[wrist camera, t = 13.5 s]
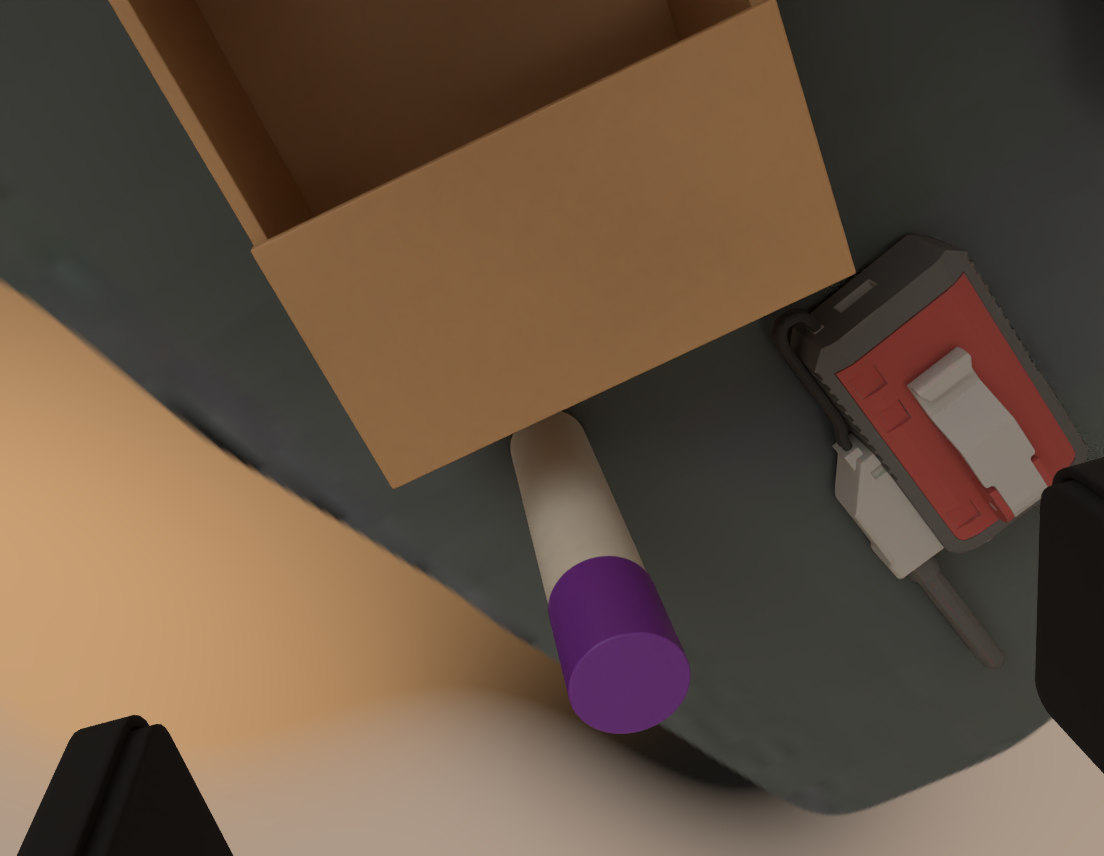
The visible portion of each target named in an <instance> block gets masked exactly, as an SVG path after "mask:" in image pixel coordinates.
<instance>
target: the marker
mask: <svg viewBox="0 0 1104 856" xmlns="http://www.w3.org/2000/svg"><path fill="white" fill-rule="evenodd" d="M510 450H511V456H512V460H513V464H514V468H515V472H516V476H517V480H518V484H519V488H520V492H521V496H522V501H523V505H524V509H525V513H526V517H527V521H528V525H529V529H530V533H531V537H532V541H533V545H534V549H535V553H536V557H537V561H538V565H539V570H540V574H541V578H542V582H543V586H544V590H545V594H546V598H547V602H548V612H549V618H550V622H551V626H552V630H553V634H554V638H555V643H556V647H557V651H558V655H559V659H560V663H561V667H562V671H563V675H564V680H565V683H566V688H567V692H568V696H569V700H570V703H571V706H572V708H573V710H574V711H575V713H576V714H577V715H578V716H579V718H580V719H581V720H583V721H584V722H585V723H586V724H588V725H590V726H591V727H593V728H595V729H598V730H600V731H604V732H608V733H616V734H624V733H633V732H639V731H642V730H645V729H648V728H651V727H653V726H655V725H657V724H659V723H660V722H662V721H663V720H665V719H666V718H668V717H669V716H670V715H671V714H672V713H673V712H674V711H675V710H676V709H677V708H678V707H679V706H680V704H681V703H682V701H683V700H684V698H685V696H686V694H687V691H688V688H689V685H690V677H691V674H690V666H689V662H688V659H687V657H686V655H685V653H684V650H683V648H682V646H681V644H680V641H679V639H678V637H677V635H676V632H675V630H674V628H673V626H672V623H671V621H670V619H669V617H668V614H667V612H666V610H665V608H664V605H663V603H662V601H661V599H660V597H659V594H658V592H657V590H656V588H655V585H654V583H653V581H652V579H651V577H650V576H649V574H648V573H647V572H646V570H645V567H644V565H643V563H642V561H641V558H640V556H639V554H638V552H637V549H636V547H635V545H634V542H633V540H632V538H631V536H630V533H629V531H628V529H627V527H626V524H625V522H624V520H623V518H622V515H621V513H620V511H619V509H618V506H617V504H616V502H615V500H614V497H613V495H612V493H611V491H610V488H609V486H608V484H607V482H606V479H605V477H604V475H603V472H602V470H601V468H600V466H599V463H598V461H597V459H596V457H595V454H594V452H593V450H592V448H591V445H590V443H589V441H588V439H587V436H586V434H585V432H584V430H583V428H582V426H581V425H580V423H579V422H578V421H577V420H576V419H575V418H574V417H572V416H571V415H569V414H567V413H564V412H561V411H560V412H558V413H556V414H554V415H552V416H550V417H547V418H545V419H543V420H541V421H539V422H537V423H535V424H532V425H530V426H528V427H526V428H524V429H522V430H520V431H517V432H515V433H513V436H512V439H511V444H510Z"/></svg>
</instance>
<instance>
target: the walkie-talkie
mask: <svg viewBox="0 0 1104 856" xmlns="http://www.w3.org/2000/svg"><path fill="white" fill-rule="evenodd" d="M967 253H968V252H967V251H965V250H962V249H960V248H957V247H955V246H952V245H950V244H947V243H945V242H942V241H940V240H937V239H934V238H932V237H926V236H917V235H907V236H905V237H904V238H903V239H902V240H900V241H899V242H898V243H897V244H895V245H894V246H893V247H892V248H890V249H889V250H888V251H887V252H886V253H884V254H883V255H882V256H881V257H879V258H878V259H877V260H876V261H874V262H873V263H872V264H871V265H869V266H868V267H867V268H866V269H864V270H863V271H862V272H861V273H859V274H858V275H857V276H856V277H854V278H853V279H852V280H851V281H850V282H848V283H847V284H846V285H845V286H843V287H842V288H841V289H840V290H838V291H837V292H836V293H835V294H833V295H832V296H831V297H830V298H828V299H827V300H826V301H825V302H823V303H822V304H821V305H820V306H818V307H817V308H816V309H815V310H814V311H812V312H811V313H810V314H809V313H807V312H805V311H804V310H802V309H791V310H789V311H787V312H785V313H783V314H781V315H779V316H778V317H777V319H776V320H775V321H774V324H773V328H772V336H773V339H774V342H775V345H776V348H777V349H778V350H779V352H780V353H781V354H782V356H783V357H784V358H785V360H786V361H787V362H788V363H789V365H790V366H791V367H792V369H793V370H794V371H795V373H796V374H797V375H798V377H799V378H800V379H801V380H802V382H803V383H804V384H805V386H806V387H807V388H808V390H809V391H810V392H811V394H812V395H813V396H814V397H815V399H816V400H817V401H818V403H819V404H820V406H821V407H822V408H823V410H824V411H825V413H826V414H827V415H828V417H829V418H830V420H831V421H832V423H833V427H834V437H835V439H836V443H835V444H834V445H832V446H833V448H834V449H835V450H836V451H837V453H838V459H837V471H836V482H835V495H836V498H837V499H838V501H839V502H840V503H841V504H842V506H843V507H844V508H845V509H846V511H847V512H848V513H849V515H850V516H851V517H852V518H853V520H854V521H855V522H856V523H857V525H858V526H859V527H860V529H861V530H862V531H863V532H864V534H865V535H866V536H867V538H868V539H869V540H870V541H871V548H872V550H873V551H874V552H875V553H876V554H877V556H878V557H879V558H880V559H881V560H882V561H883V562H884V564H885V565H886V566H887V567H888V568H889V569H890V570H891V571H892V573H893V574H894V575H895V576H896V577H897V578H898V579H902V578H904V577H905V576H907V575H908V576H909V578H910V579H911V580H912V581H914V582H916V583H919V585H920V586H921V587H922V588H923V590H924V591H925V592H926V593H927V595H928V596H929V597H930V599H931V600H932V601H933V602H934V604H935V605H936V606H937V607H938V609H939V610H940V611H941V613H942V614H943V615H944V616H945V618H946V619H947V620H948V621H949V623H950V624H951V625H952V627H953V628H954V629H955V630H956V632H957V633H958V634H959V635H960V637H961V638H962V639H963V641H964V642H965V643H966V644H967V646H968V647H969V648H970V649H971V651H972V652H973V653H974V654H975V656H976V657H977V658H978V660H979V661H980V662H981V663H982V665H983V666H985V667H987V668H991V669H996V668H998V667H1000V666H1001V665H1002V664H1003V662H1004V653H1003V652H1002V650H1001V649H1000V648H999V647H998V645H997V644H996V643H995V641H994V640H993V639H992V638H991V636H990V635H989V634H988V632H987V631H986V630H985V628H984V627H983V626H982V625H981V623H980V622H979V621H978V619H977V618H976V617H975V616H974V614H973V613H972V612H971V610H970V609H969V608H968V606H967V605H966V604H965V603H964V601H963V600H962V599H961V597H960V596H959V595H958V594H957V592H956V591H955V590H954V588H953V587H952V586H951V585H950V583H949V582H948V581H947V579H946V578H945V577H944V575H943V574H942V573H941V572H940V570H939V569H940V568H939V562H938V561H937V560H936V558H935V557H934V555H935V554H937V553H938V552H939V551H941V550H942V549H943V548H944V547H945V548H946V549H947V550H948V551H949V552H953V553H959V554H961V553H964V552H967V551H970V550H973V549H976V548H978V547H980V546H981V545H983V544H984V543H986V542H987V541H989V540H991V539H992V538H993V537H994V536H995V535H996V534H998V533H999V532H1001V531H1002V530H1003V529H1005V528H1006V527H1007V526H1009V525H1010V524H1012V523H1013V522H1014V521H1016V520H1017V519H1018V518H1020V517H1021V516H1022V515H1024V514H1025V513H1027V512H1028V511H1029V510H1031V509H1032V508H1033V507H1035V506H1039V505H1040V501H1041V494H1042V492H1043V491H1044V489H1045V488H1047V487H1049V486H1052V481H1053V478H1054V476H1055V474H1056V472H1057V471H1059V470H1061V469H1062V468H1066V467H1069V466H1073V465H1077V464H1081V463H1084V462H1086V459H1087V453H1088V449H1087V447H1086V445H1085V444H1084V442H1083V440H1082V439H1081V437H1080V436H1079V434H1078V432H1077V431H1076V429H1075V427H1074V426H1073V424H1072V422H1071V421H1070V419H1069V418H1068V416H1067V414H1066V413H1065V411H1064V409H1063V408H1062V406H1061V404H1060V403H1059V401H1058V400H1057V398H1056V396H1055V395H1054V393H1053V391H1052V390H1051V388H1050V386H1049V385H1048V383H1047V382H1046V380H1045V378H1044V377H1043V375H1042V373H1041V372H1040V371H1039V370H1037V369H1036V368H1035V362H1034V361H1033V360H1031V359H1030V358H1029V357H1028V355H1029V352H1028V351H1027V350H1025V349H1024V348H1023V347H1022V343H1023V342H1022V341H1021V340H1020V339H1018V338H1017V337H1016V336H1015V334H1016V331H1015V329H1013V328H1011V327H1010V326H1009V320H1008V318H1006V317H1004V316H1003V314H1002V311H1003V310H1002V308H1001V307H1000V306H998V305H996V303H995V300H996V298H995V297H994V296H993V295H991V294H990V293H989V291H988V289H989V287H988V285H987V284H985V283H983V282H982V280H981V277H982V275H981V274H980V273H979V272H977V271H976V270H975V269H974V265H975V264H974V262H973V261H971V260H969V259H968V257H967ZM798 322H799V323H798ZM796 323H797V324H796ZM794 324H796V325H795V326H794V327H793V329H792V335H791V340H790V345H789V343H788V340H787V330H788V329H789V327H790V326H792V325H794ZM848 430H850V431H851V432H852V433H853V434H854V435H853V434H852V433H851V434H849V435H848Z"/></svg>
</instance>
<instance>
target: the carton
mask: <svg viewBox="0 0 1104 856" xmlns="http://www.w3.org/2000/svg"><path fill="white" fill-rule="evenodd" d="M108 1H109V2H110V4H111V6H112V7H113V9H114V11H115V12H116V14H117V16H118V17H119V19H120V21H121V23H122V24H123V26H124V28H125V29H126V31H127V33H128V34H129V36H130V38H131V39H132V41H133V43H134V44H135V46H136V48H137V49H138V51H139V53H140V55H141V56H142V58H143V60H144V61H145V63H146V65H147V66H148V68H149V70H150V71H151V73H152V75H153V76H154V78H155V80H156V81H157V83H158V85H159V87H160V88H161V90H162V92H163V93H164V95H165V97H166V98H167V100H168V102H169V103H170V105H171V107H172V108H173V110H174V112H175V113H176V115H177V117H178V118H179V120H180V122H181V124H182V125H183V127H184V129H185V130H186V132H187V134H188V135H189V137H190V139H191V140H192V142H193V144H194V145H195V147H196V149H197V150H198V152H199V154H200V156H201V157H202V159H203V161H204V162H205V164H206V166H207V167H208V169H209V171H210V172H211V174H212V176H213V177H214V179H215V181H216V182H217V184H218V186H219V187H220V189H221V191H222V193H223V194H224V196H225V198H226V199H227V201H228V203H229V204H230V206H231V208H232V209H233V211H234V213H235V214H236V216H237V218H238V219H239V221H240V223H241V225H242V226H243V228H244V230H245V231H246V233H247V235H248V236H249V238H250V240H251V241H252V243H253V245H254V246H253V248H252V249H251V253H252V255H253V256H254V258H255V260H256V261H257V263H258V265H259V266H260V268H261V270H262V271H263V273H264V275H265V276H266V278H267V280H268V281H269V283H270V285H271V286H272V288H273V290H274V291H275V293H276V295H277V296H278V298H279V300H280V301H281V303H282V305H283V306H284V308H285V310H286V312H287V313H288V315H289V317H290V318H291V320H292V322H293V323H294V325H295V327H296V328H297V330H298V332H299V333H300V335H301V337H302V338H303V340H304V342H305V343H306V345H307V347H308V348H309V350H310V352H311V353H312V355H313V357H314V358H315V360H316V362H317V363H318V365H319V367H320V368H321V370H322V372H323V373H324V375H325V377H326V378H327V380H328V382H329V383H330V385H331V387H332V388H333V390H334V392H335V394H336V395H337V397H338V399H339V400H340V402H341V404H342V405H343V407H344V409H345V410H346V412H347V414H348V415H349V417H350V419H351V420H352V422H353V424H354V425H355V427H356V429H357V430H358V432H359V434H360V435H361V437H362V439H363V440H364V442H365V444H366V445H367V447H368V449H369V450H370V452H371V454H372V455H373V457H374V459H375V460H376V462H377V464H378V465H379V467H380V469H381V470H382V472H383V474H384V475H385V477H386V479H387V481H388V482H389V484H390V486H391V487H392V489H395V488H398V487H400V486H402V485H404V484H406V483H408V482H410V481H413V480H415V479H417V478H419V477H421V476H423V475H425V474H427V473H430V472H432V471H434V470H436V469H438V468H440V467H442V466H445V465H447V464H449V463H451V462H453V461H455V460H457V459H460V458H462V457H464V456H466V455H468V454H470V453H472V452H475V451H477V450H479V449H481V448H483V447H485V446H487V445H490V444H492V443H494V442H496V441H498V440H500V439H502V438H505V437H507V436H509V435H511V434H513V433H515V432H517V431H520V430H522V429H524V428H526V427H528V426H530V425H532V424H535V423H537V422H539V421H541V420H543V419H545V418H547V417H550V416H552V415H554V414H556V413H558V412H560V411H562V410H565V409H567V408H569V407H571V406H573V405H575V404H577V403H580V402H582V401H584V400H586V399H588V398H590V397H592V396H595V395H597V394H599V393H601V392H603V391H605V390H607V389H610V388H612V387H614V386H616V385H618V384H620V383H622V382H625V381H627V380H629V379H631V378H633V377H635V376H637V375H640V374H642V373H644V372H646V371H648V370H650V369H652V368H655V367H657V366H659V365H661V364H663V363H665V362H667V361H669V360H672V359H674V358H676V357H678V356H680V355H682V354H684V353H687V352H689V351H691V350H693V349H695V348H697V347H699V346H702V345H704V344H706V343H708V342H710V341H712V340H714V339H717V338H719V337H721V336H723V335H725V334H727V333H729V332H732V331H734V330H736V329H738V328H740V327H742V326H744V325H747V324H749V323H751V322H753V321H755V320H757V319H759V318H762V317H764V316H766V315H768V314H770V313H772V312H774V311H777V310H779V309H781V308H783V307H785V306H787V305H789V304H792V303H794V302H796V301H798V300H800V299H802V298H804V297H807V296H809V295H811V294H813V293H815V292H817V291H819V290H822V289H824V288H826V287H828V286H830V285H832V284H834V283H837V282H839V281H841V280H843V279H845V278H847V277H849V276H852V275H854V274H855V273H856V270H855V267H854V263H853V260H852V257H851V253H850V250H849V246H848V243H847V240H846V236H845V233H844V229H843V226H842V223H841V219H840V216H839V212H838V209H837V206H836V202H835V199H834V195H833V192H832V189H831V185H830V182H829V178H828V175H827V172H826V168H825V165H824V161H823V158H822V155H821V151H820V148H819V144H818V141H817V138H816V134H815V131H814V127H813V124H812V121H811V117H810V114H809V110H808V107H807V104H806V100H805V97H804V93H803V90H802V87H801V83H800V80H799V76H798V73H797V70H796V66H795V63H794V59H793V56H792V53H791V49H790V46H789V42H788V39H787V36H786V32H785V29H784V25H783V22H782V19H781V15H780V12H779V8H778V5H777V2H776V0H108Z"/></svg>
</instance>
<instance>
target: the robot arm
mask: <svg viewBox="0 0 1104 856" xmlns="http://www.w3.org/2000/svg"><path fill="white" fill-rule="evenodd" d="M1035 681H1036V688H1037V692H1038V695H1039V697H1040V700H1041V702H1042V704H1043V706H1044V707H1045V709H1046V711H1047V712H1048V713H1049V714H1050V716H1051V717H1052V718H1053V719H1054V720H1055V721H1056V722H1057V723H1058V725H1059V726H1060V727H1061V728H1062V729H1063V730H1064V731H1065V732H1066V733H1067V734H1068V735H1069V737H1070V738H1071V739H1072V740H1073V741H1074V742H1075V743H1076V744H1077V745H1078V746H1079V747H1080V748H1081V750H1082V751H1083V752H1084V753H1085V754H1086V755H1087V756H1088V757H1089V758H1090V759H1091V760H1092V761H1093V763H1094V764H1095V765H1096V766H1097V767H1098V768H1099V769H1100V770H1101V771H1102V772H1103V773H1104V457H1103V458H1099V459H1096V460H1092V461H1088V462H1084V463H1081V464H1077V465H1073V466H1069V467H1066V468H1062V469H1061V470H1059V471H1057V472H1056V474H1055V476H1054V478H1053V481H1052V486H1049V487H1047V488H1045V489H1044V491H1043V492H1042V494H1041V501H1040V533H1039V567H1038V601H1037V636H1036V670H1035ZM17 856H233V854H232V852H231V850H230V848H229V847H228V845H227V843H226V841H225V839H224V837H223V835H222V833H221V831H220V830H219V828H218V826H217V824H216V822H215V820H214V818H213V816H212V814H211V812H210V810H209V809H208V806H207V804H206V803H205V801H204V799H203V797H202V795H201V793H200V791H199V789H198V787H197V785H196V783H195V781H194V780H193V778H192V776H191V774H190V772H189V770H188V768H187V766H186V764H185V762H184V761H183V759H182V757H181V755H180V753H179V751H178V749H177V747H176V745H175V743H174V741H173V739H172V738H171V736H170V734H169V732H168V731H167V730H166V728H165V727H164V726H162V725H161V724H155V725H151V726H149V725H148V723H147V721H146V720H145V719H143V718H142V717H141V716H138V715H132V716H128V717H124V718H121V719H117V720H113V721H109V722H106V723H102V724H98V725H95V726H90V727H87V728H83V729H80V730H78V731H77V732H75V733H74V735H73V736H72V737H71V739H70V740H69V742H68V744H67V747H66V749H65V751H64V753H63V755H62V758H61V760H60V762H59V764H58V766H57V769H56V771H55V773H54V775H53V777H52V779H51V782H50V784H49V786H48V788H47V790H46V793H45V795H44V797H43V799H42V802H41V804H40V806H39V808H38V810H37V812H36V815H35V817H34V819H33V821H32V823H31V826H30V828H29V830H28V832H27V834H26V836H25V839H24V841H23V843H22V845H21V847H20V850H19V852H18V854H17Z"/></svg>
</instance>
